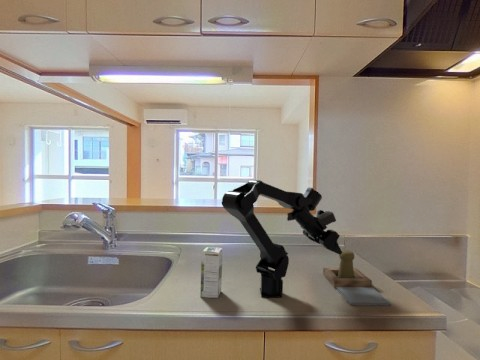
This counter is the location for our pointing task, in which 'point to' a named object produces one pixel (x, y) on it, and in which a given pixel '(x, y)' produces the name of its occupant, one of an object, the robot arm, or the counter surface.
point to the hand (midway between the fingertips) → (334, 250)
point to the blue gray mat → (362, 296)
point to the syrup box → (211, 272)
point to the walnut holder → (357, 281)
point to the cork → (346, 264)
